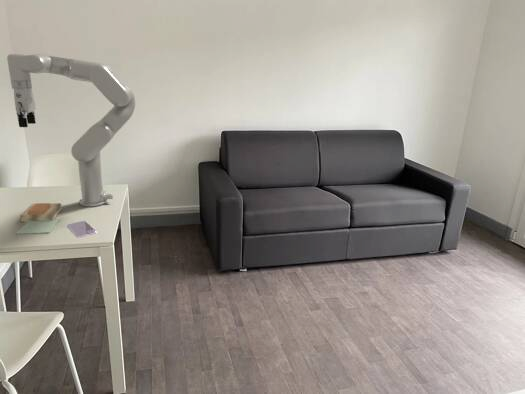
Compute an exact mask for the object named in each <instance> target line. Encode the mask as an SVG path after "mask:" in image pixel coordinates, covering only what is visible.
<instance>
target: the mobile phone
mask: <svg viewBox="0 0 525 394" xmlns="http://www.w3.org/2000/svg"><path fill="white" fill-rule="evenodd" d="M67 228H68V229H69V230H70V231H71V232H72V233H73V234H74V235H75V237H77V238H83V237H87V236H91V235H95V234H97V233H98V231H97V230H95V228H93V227H92V225H91V224H90V223H88V222H87V221H86V220H81V221H77V222H72V223H69V224H67Z"/></svg>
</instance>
